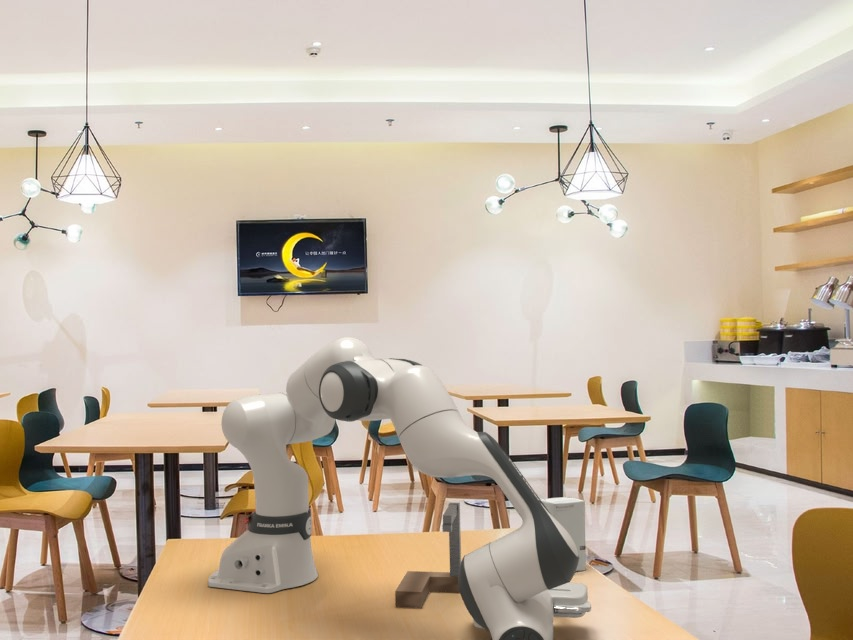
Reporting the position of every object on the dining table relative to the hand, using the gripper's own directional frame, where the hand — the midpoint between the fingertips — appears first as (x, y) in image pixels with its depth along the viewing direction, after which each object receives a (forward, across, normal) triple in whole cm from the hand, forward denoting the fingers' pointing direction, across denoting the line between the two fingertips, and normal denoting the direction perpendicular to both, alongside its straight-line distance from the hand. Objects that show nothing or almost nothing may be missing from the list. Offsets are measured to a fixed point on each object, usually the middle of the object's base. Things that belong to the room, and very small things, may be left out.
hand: (529, 581), depth 135 cm
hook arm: (+6, +15, +6) cm, 17 cm away
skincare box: (+27, -6, +6) cm, 28 cm away
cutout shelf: (+6, +15, +6) cm, 17 cm away
